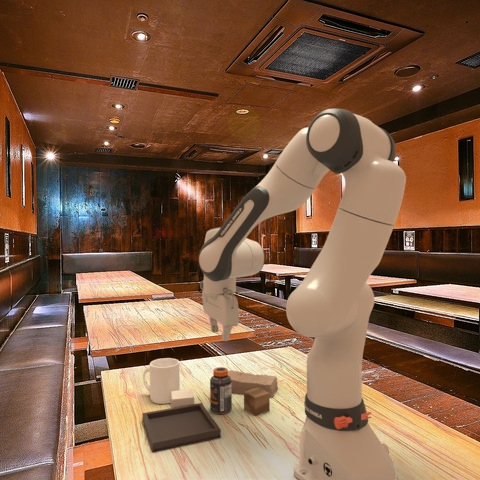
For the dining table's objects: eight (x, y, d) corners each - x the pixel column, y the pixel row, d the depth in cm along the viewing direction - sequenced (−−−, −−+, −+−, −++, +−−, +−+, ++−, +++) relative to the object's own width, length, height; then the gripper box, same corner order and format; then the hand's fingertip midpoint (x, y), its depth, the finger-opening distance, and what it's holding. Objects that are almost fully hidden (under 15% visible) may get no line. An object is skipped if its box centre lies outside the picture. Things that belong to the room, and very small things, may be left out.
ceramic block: (194, 411, 106) (194, 397, 106) (172, 414, 105) (172, 399, 105) (192, 402, 112) (192, 389, 112) (171, 404, 111) (171, 391, 111)
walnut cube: (269, 411, 106) (269, 392, 106) (255, 416, 103) (255, 397, 103) (257, 404, 110) (257, 387, 110) (244, 409, 107) (243, 391, 107)
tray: (220, 437, 92) (220, 429, 92) (152, 452, 86) (152, 443, 86) (201, 410, 107) (201, 402, 107) (142, 420, 101) (142, 413, 101)
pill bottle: (207, 407, 108) (206, 367, 108) (226, 403, 111) (226, 364, 111) (215, 416, 103) (214, 374, 103) (235, 412, 105) (234, 370, 105)
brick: (278, 388, 122) (278, 373, 122) (272, 399, 114) (272, 383, 114) (228, 383, 127) (228, 369, 127) (219, 393, 119) (219, 378, 119)
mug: (152, 389, 122) (151, 355, 122) (185, 395, 117) (184, 359, 117) (134, 400, 114) (134, 363, 114) (169, 406, 109) (168, 368, 109)
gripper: (244, 290, 98) (244, 344, 98) (218, 281, 117) (218, 326, 117) (221, 291, 96) (221, 347, 96) (198, 282, 115) (198, 328, 115)
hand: (219, 335), depth 107 cm, fingers open, 8 cm apart
